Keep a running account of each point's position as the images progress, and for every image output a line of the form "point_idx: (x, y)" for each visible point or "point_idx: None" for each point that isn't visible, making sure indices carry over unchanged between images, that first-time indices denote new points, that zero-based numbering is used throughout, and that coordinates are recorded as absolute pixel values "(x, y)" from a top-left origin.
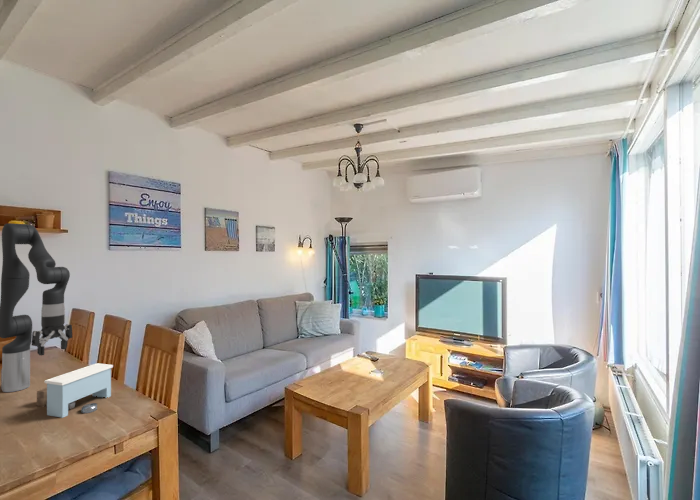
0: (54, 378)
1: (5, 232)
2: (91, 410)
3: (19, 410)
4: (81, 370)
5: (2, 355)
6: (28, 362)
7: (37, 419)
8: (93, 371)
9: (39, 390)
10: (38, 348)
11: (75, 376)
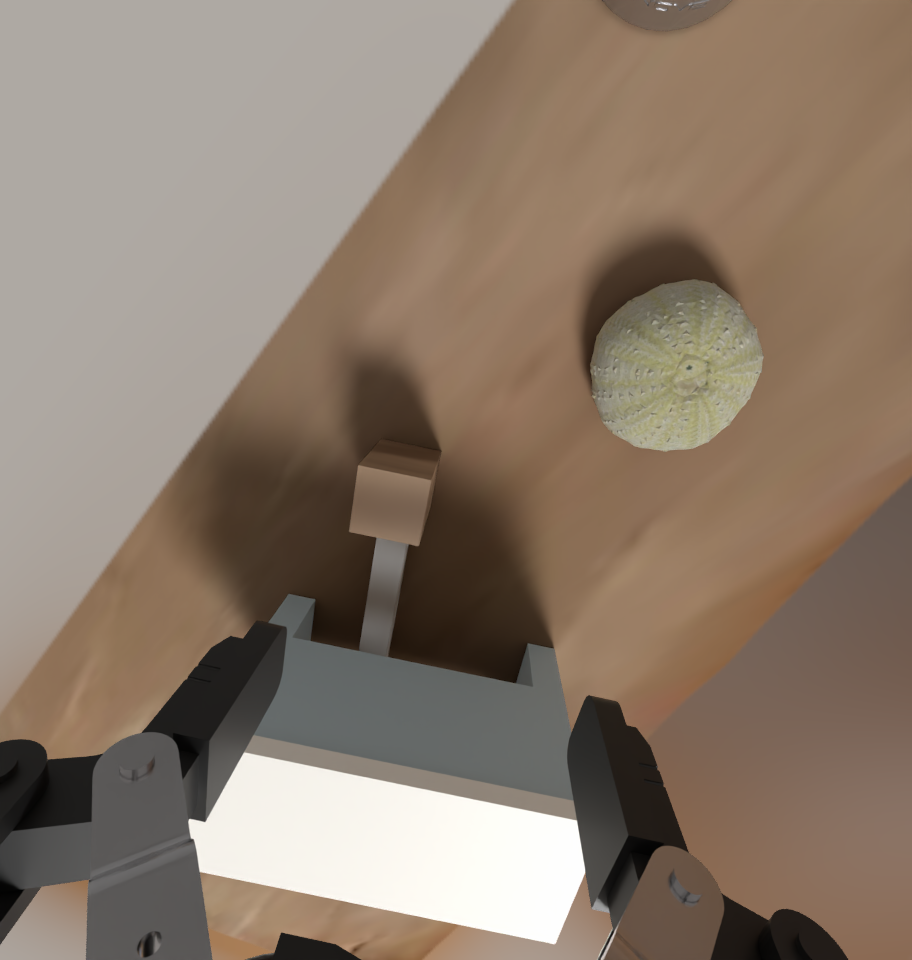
0: None
1: None
2: None
3: (307, 399)
4: (410, 829)
5: None
6: None
7: (242, 587)
8: (400, 908)
9: (364, 480)
10: (167, 724)
11: (287, 865)
